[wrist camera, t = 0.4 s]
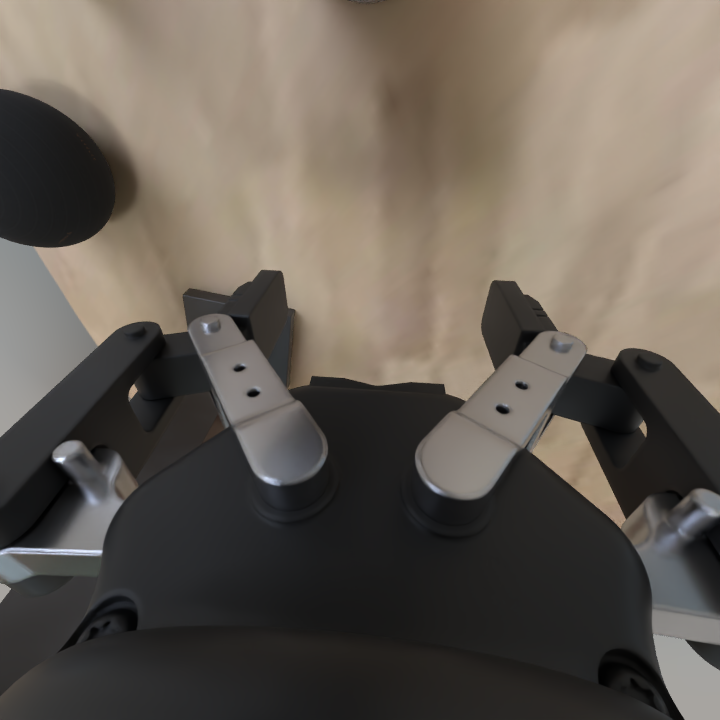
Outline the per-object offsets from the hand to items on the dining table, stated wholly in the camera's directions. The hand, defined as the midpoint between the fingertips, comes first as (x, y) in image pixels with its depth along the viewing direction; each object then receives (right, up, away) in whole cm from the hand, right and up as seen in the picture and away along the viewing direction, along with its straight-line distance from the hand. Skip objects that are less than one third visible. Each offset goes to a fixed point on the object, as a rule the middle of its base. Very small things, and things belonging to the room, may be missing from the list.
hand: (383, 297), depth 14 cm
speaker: (-24, +14, +16) cm, 32 cm away
